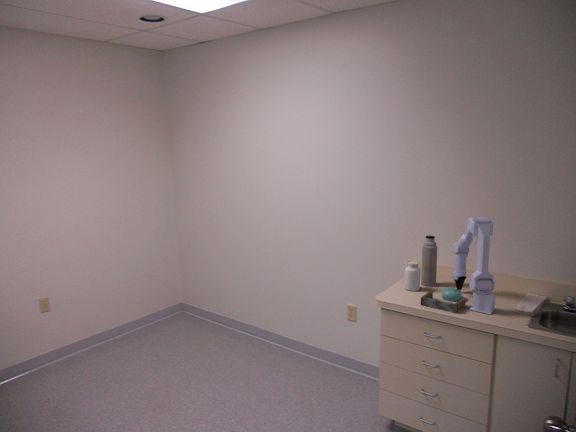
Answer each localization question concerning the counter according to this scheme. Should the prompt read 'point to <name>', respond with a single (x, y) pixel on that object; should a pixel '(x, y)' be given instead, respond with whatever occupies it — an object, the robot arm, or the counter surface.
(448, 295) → the teal flat rounded lump
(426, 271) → the thermos bottle
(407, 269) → the pill bottle
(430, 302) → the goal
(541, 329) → the counter surface
